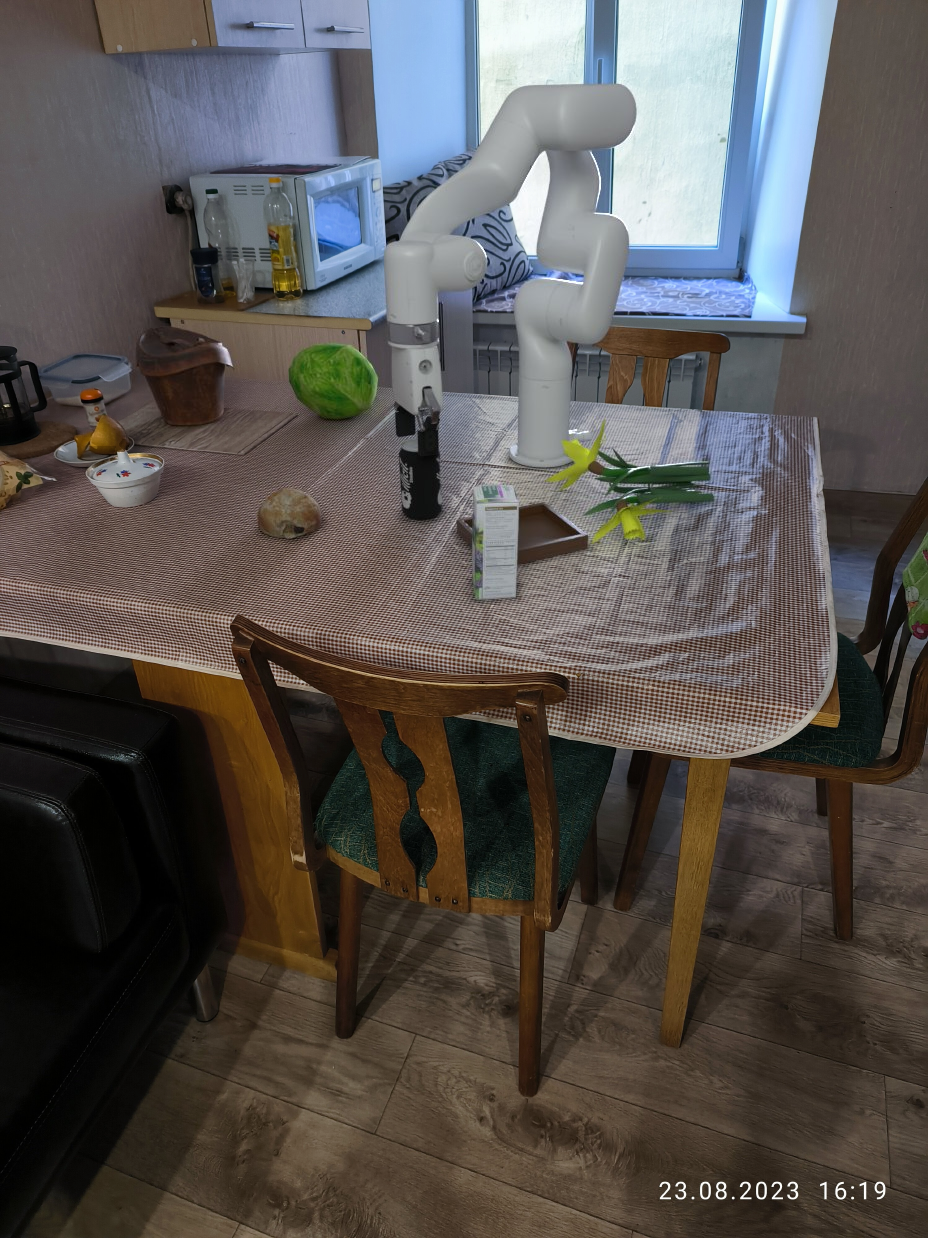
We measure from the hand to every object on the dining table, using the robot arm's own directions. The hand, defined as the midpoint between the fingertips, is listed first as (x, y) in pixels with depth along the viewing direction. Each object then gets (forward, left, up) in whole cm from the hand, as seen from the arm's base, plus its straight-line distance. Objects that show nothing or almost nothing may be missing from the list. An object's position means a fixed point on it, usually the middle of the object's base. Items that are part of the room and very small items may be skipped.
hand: (416, 444), depth 135 cm
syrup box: (0, +28, -12) cm, 30 cm away
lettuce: (-2, -55, -12) cm, 57 cm away
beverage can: (0, 0, -12) cm, 12 cm away
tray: (-10, +16, -12) cm, 22 cm away
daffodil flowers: (-30, +18, -12) cm, 37 cm away
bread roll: (+21, -5, -12) cm, 25 cm away
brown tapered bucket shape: (+26, -68, -12) cm, 74 cm away
